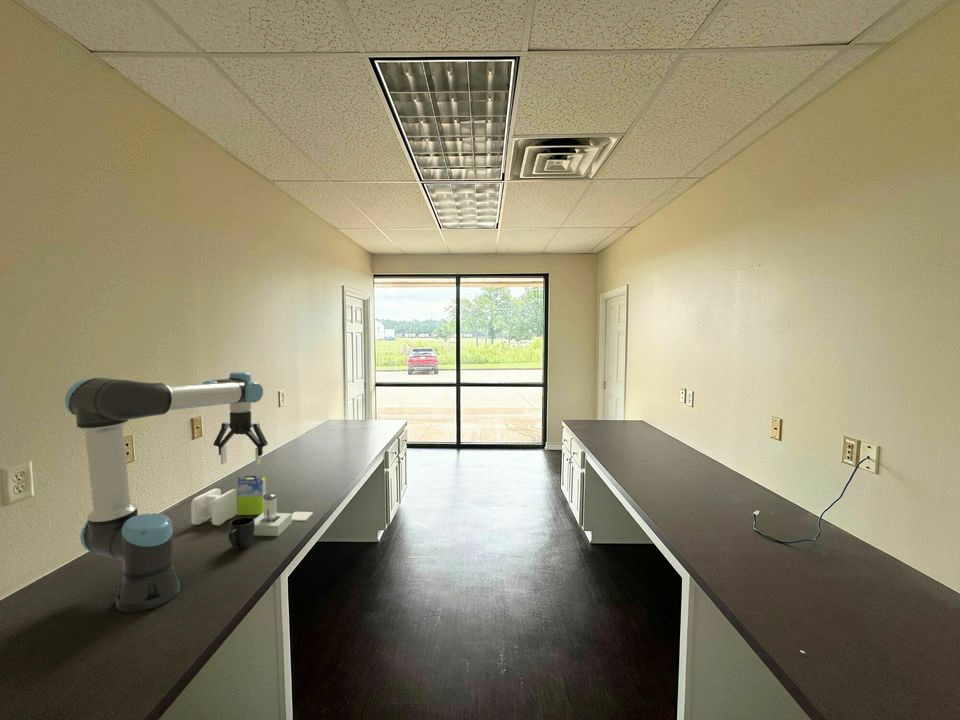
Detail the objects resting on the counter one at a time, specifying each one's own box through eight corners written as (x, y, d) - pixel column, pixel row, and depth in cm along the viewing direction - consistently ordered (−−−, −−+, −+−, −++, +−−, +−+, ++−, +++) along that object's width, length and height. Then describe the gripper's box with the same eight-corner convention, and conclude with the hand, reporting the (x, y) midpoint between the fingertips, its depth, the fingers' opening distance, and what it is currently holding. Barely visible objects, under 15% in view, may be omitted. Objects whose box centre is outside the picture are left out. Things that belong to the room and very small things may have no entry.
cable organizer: (214, 529, 176) (213, 500, 176) (190, 527, 177) (189, 499, 177) (239, 514, 191) (238, 487, 190) (216, 512, 192) (216, 486, 192)
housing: (278, 535, 172) (278, 525, 172) (247, 534, 172) (247, 524, 172) (291, 522, 184) (291, 513, 184) (263, 521, 184) (263, 512, 184)
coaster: (305, 521, 186) (305, 519, 186) (286, 520, 186) (286, 519, 186) (313, 513, 194) (313, 512, 194) (295, 512, 194) (295, 511, 194)
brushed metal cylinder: (273, 531, 175) (273, 497, 175) (260, 531, 175) (260, 497, 175) (279, 526, 180) (279, 493, 180) (267, 525, 180) (267, 492, 180)
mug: (218, 556, 155) (217, 530, 154) (237, 540, 167) (237, 516, 166) (241, 557, 155) (241, 531, 154) (258, 541, 167) (258, 517, 166)
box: (266, 511, 195) (266, 472, 194) (262, 515, 191) (262, 475, 190) (241, 511, 194) (240, 473, 193) (237, 515, 189) (236, 476, 188)
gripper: (276, 409, 180) (276, 461, 182) (214, 408, 180) (214, 460, 181) (267, 413, 173) (268, 466, 174) (203, 411, 172) (203, 465, 174)
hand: (240, 463), depth 178 cm, fingers open, 13 cm apart
